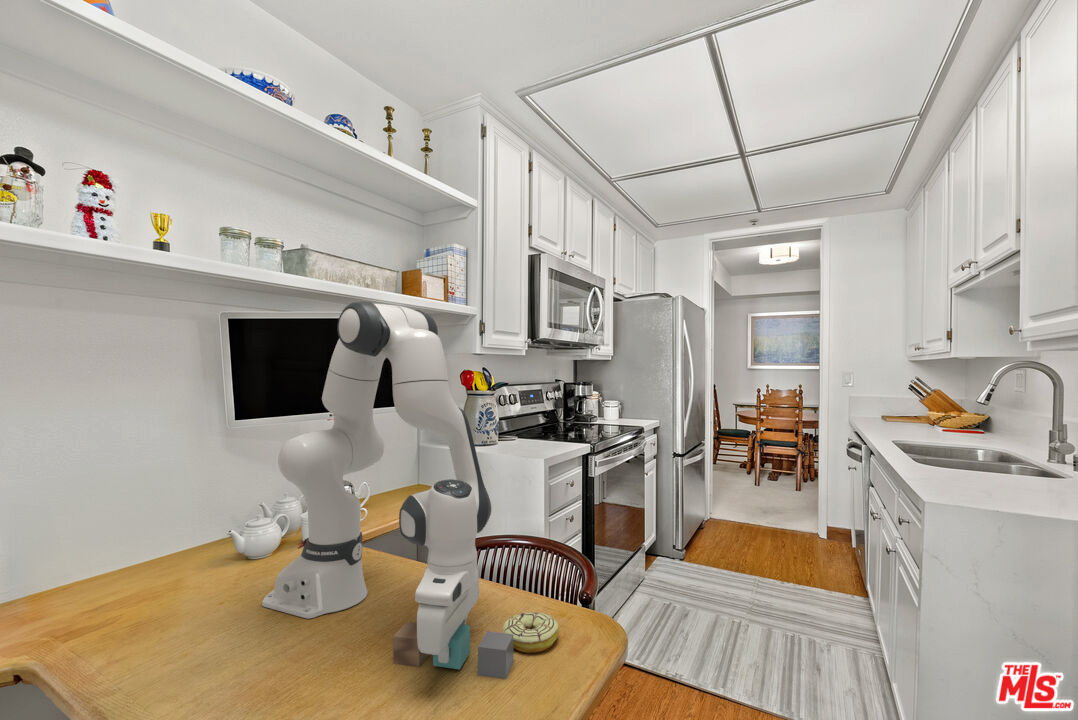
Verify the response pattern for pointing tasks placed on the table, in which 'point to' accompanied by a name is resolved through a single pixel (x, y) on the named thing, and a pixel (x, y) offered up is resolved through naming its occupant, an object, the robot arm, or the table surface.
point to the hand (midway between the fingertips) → (451, 649)
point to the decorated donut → (532, 631)
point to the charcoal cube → (495, 655)
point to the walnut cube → (407, 646)
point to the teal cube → (457, 648)
